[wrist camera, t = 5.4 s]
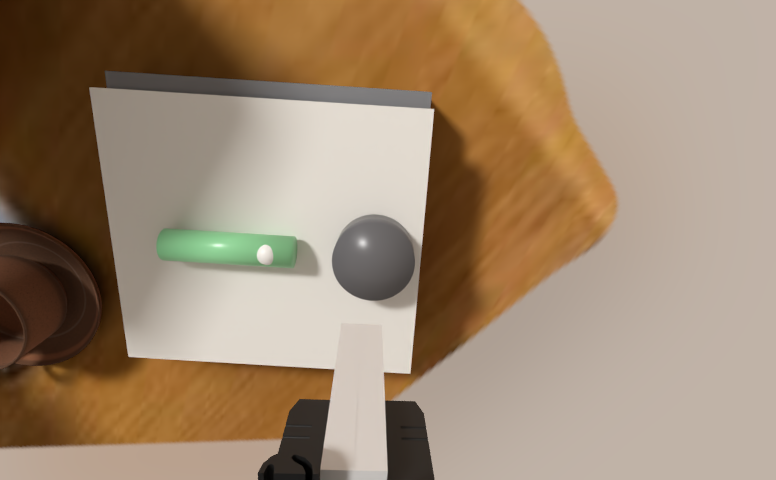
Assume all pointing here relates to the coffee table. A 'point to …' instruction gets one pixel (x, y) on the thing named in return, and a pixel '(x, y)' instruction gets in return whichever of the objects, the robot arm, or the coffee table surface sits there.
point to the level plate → (262, 224)
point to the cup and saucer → (43, 299)
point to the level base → (267, 89)
